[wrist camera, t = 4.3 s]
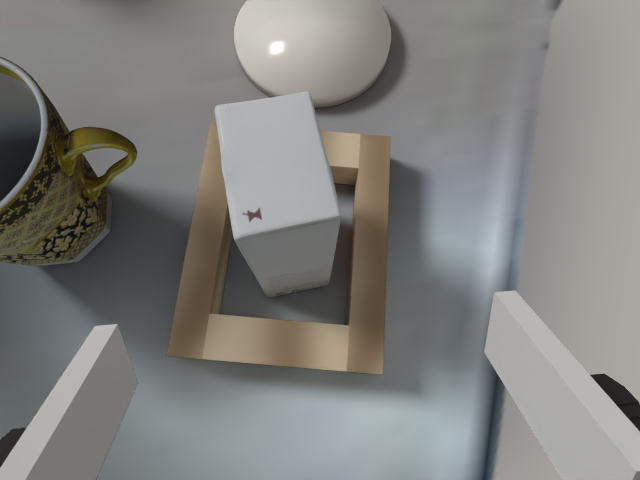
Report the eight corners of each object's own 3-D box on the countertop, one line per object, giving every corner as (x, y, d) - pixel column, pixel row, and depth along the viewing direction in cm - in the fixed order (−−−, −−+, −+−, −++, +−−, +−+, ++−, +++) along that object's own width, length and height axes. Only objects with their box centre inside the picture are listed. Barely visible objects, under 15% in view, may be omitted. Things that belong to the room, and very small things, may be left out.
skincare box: (331, 285, 26) (345, 221, 15) (266, 299, 26) (230, 243, 15) (312, 201, 28) (312, 86, 17) (251, 212, 28) (208, 103, 17)
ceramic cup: (-23, 300, 26) (-220, 259, 16) (-3, 160, 29) (-159, 57, 19) (183, 279, 26) (109, 227, 17) (182, 144, 29) (119, 36, 20)
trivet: (226, 101, 31) (222, 91, 29) (247, -20, 34) (245, -33, 33) (386, 114, 30) (388, 104, 29) (390, -9, 34) (393, -22, 33)
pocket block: (180, 357, 25) (166, 355, 23) (218, 142, 30) (210, 122, 27) (376, 374, 25) (383, 374, 22) (384, 155, 29) (390, 136, 27)
